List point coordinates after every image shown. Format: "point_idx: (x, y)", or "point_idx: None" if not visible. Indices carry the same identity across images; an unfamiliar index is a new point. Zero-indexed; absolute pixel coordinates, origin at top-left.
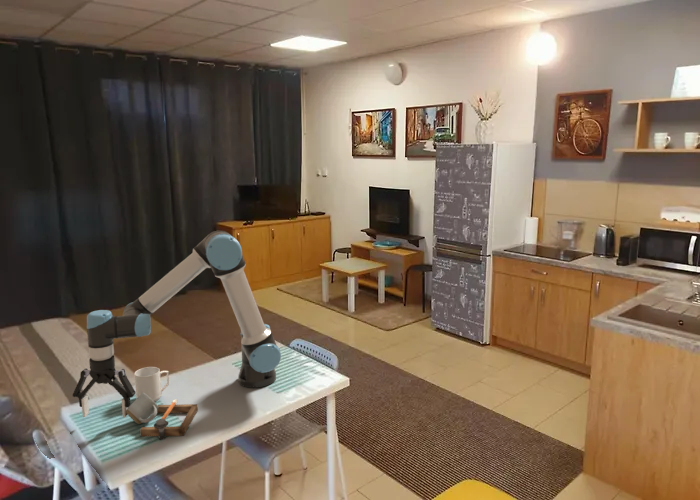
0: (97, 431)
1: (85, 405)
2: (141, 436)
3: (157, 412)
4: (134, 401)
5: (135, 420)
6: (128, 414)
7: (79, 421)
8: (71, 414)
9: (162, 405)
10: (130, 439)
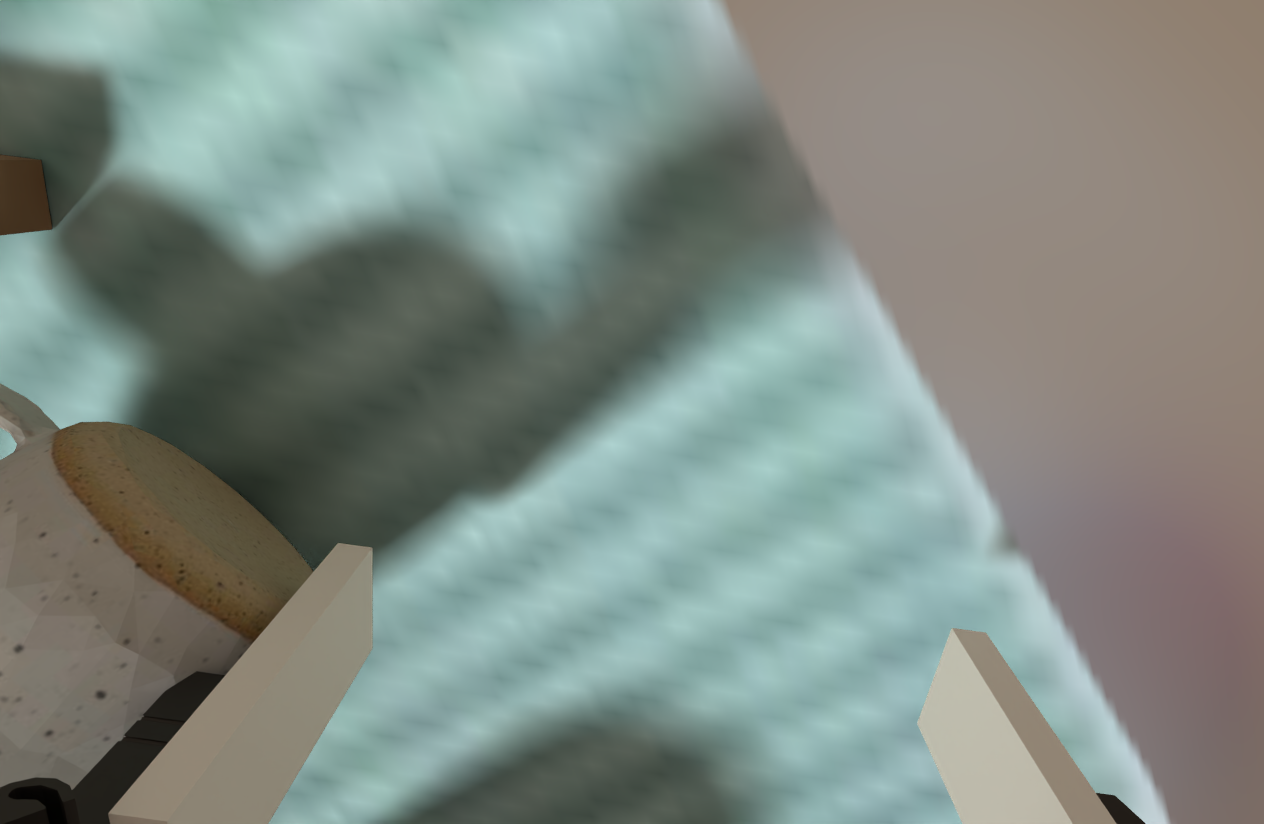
0: (716, 405)
1: (1027, 814)
2: (28, 158)
3: None
4: None
5: (119, 427)
6: (266, 574)
7: None
8: None
9: None
10: (156, 100)
